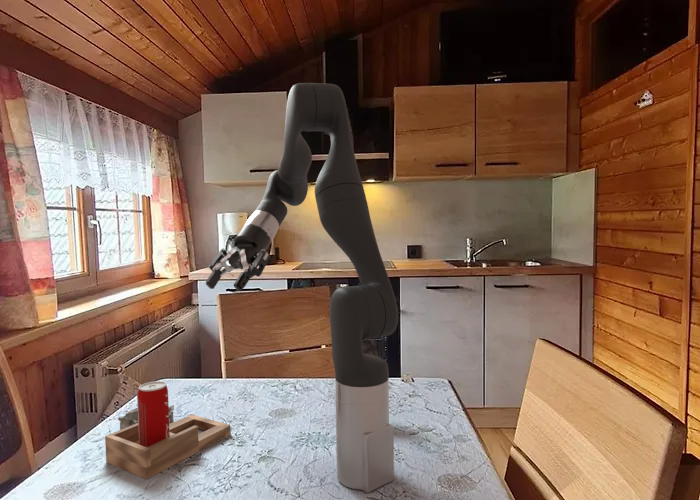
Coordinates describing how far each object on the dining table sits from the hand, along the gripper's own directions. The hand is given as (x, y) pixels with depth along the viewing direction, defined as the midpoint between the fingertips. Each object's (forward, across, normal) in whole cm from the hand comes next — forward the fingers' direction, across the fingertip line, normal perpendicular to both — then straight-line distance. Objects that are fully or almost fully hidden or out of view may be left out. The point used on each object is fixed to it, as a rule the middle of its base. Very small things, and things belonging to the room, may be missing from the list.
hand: (222, 287), depth 101 cm
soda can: (+32, -2, +9) cm, 33 cm away
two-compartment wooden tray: (+31, -2, +13) cm, 33 cm away
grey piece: (+28, -15, +16) cm, 36 cm away
